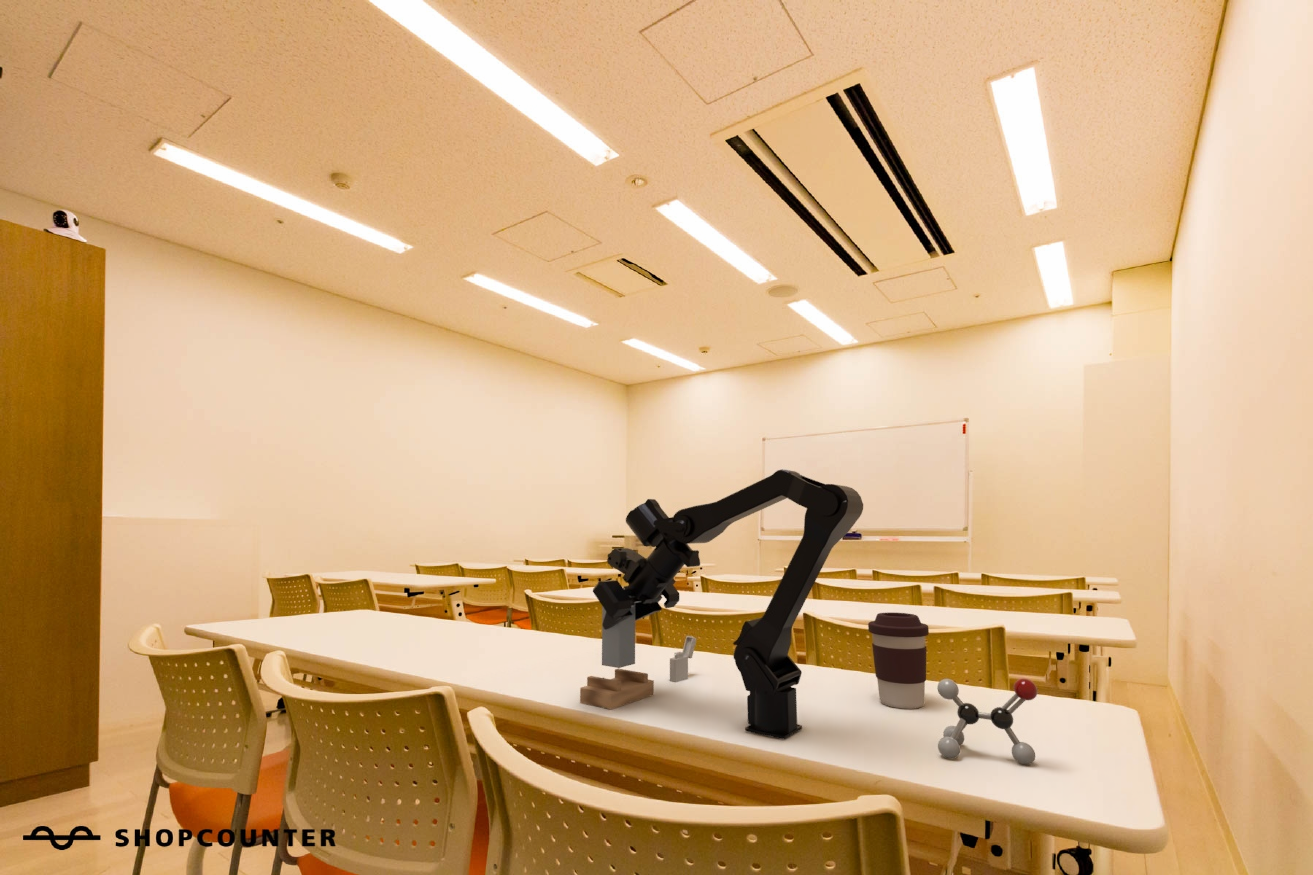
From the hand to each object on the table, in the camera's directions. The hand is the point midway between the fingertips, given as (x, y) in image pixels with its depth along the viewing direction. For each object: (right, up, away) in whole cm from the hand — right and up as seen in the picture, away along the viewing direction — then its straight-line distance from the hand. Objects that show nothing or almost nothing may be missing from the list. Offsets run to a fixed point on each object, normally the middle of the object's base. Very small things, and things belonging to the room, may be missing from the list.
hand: (612, 625), depth 115 cm
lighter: (+13, -15, +13) cm, 24 cm away
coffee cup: (+50, -12, -6) cm, 52 cm away
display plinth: (+1, -12, -3) cm, 13 cm away
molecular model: (+52, -8, -32) cm, 62 cm away
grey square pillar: (+1, -6, -2) cm, 7 cm away
